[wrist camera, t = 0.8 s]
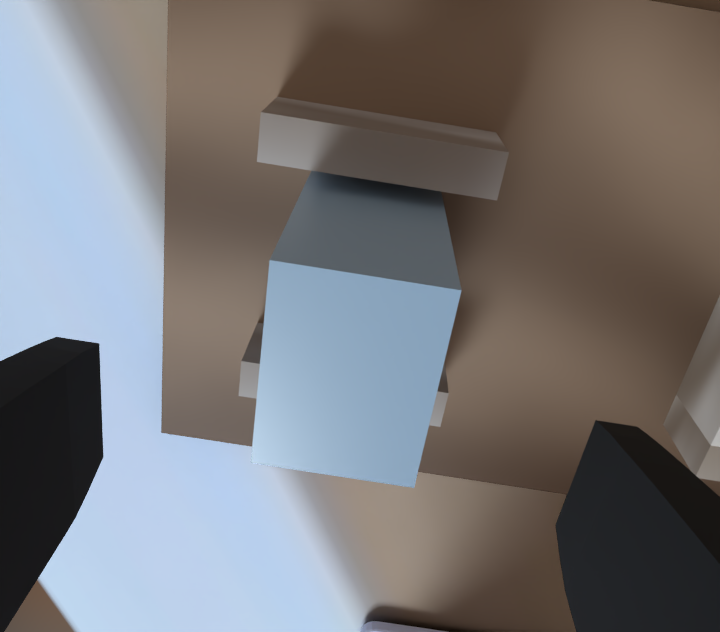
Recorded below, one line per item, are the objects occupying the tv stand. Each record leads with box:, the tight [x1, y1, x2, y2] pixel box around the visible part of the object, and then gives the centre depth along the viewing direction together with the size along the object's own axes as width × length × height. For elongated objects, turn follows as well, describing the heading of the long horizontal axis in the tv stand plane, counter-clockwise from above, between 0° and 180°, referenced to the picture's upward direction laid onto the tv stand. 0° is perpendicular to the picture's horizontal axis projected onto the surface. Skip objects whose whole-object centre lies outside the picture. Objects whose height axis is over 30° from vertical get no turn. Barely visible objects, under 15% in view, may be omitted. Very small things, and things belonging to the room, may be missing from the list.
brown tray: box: [161, 0, 720, 496], centre depth 16 cm, size 13×22×3 cm, turn 82°
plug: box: [251, 171, 462, 488], centre depth 14 cm, size 4×3×6 cm
